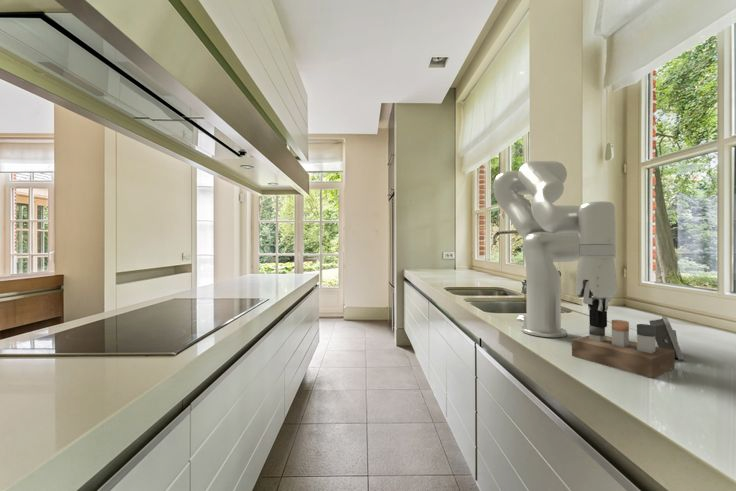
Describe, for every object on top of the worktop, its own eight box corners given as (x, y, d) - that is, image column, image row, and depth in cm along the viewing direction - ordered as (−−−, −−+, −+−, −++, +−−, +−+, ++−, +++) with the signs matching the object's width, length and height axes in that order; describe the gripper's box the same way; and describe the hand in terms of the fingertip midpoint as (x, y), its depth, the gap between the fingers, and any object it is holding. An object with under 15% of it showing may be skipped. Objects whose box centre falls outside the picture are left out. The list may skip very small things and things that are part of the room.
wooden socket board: (571, 355, 82) (571, 339, 82) (596, 348, 87) (596, 333, 87) (651, 378, 68) (651, 358, 68) (674, 368, 73) (674, 350, 73)
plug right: (634, 351, 74) (633, 325, 74) (641, 348, 75) (640, 323, 75) (651, 355, 71) (651, 328, 71) (658, 352, 73) (658, 326, 73)
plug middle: (609, 345, 78) (608, 320, 78) (616, 343, 80) (615, 319, 80) (624, 348, 75) (624, 323, 75) (631, 346, 77) (631, 321, 77)
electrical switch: (684, 362, 77) (678, 322, 78) (655, 359, 81) (649, 321, 81) (679, 352, 85) (674, 315, 85) (653, 350, 88) (648, 314, 89)
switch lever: (586, 348, 83) (586, 325, 83) (593, 346, 84) (593, 324, 84) (600, 352, 80) (600, 328, 80) (607, 350, 81) (607, 326, 81)
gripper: (596, 252, 89) (598, 320, 88) (563, 252, 82) (565, 327, 81) (629, 252, 82) (631, 326, 82) (597, 252, 75) (598, 333, 75)
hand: (598, 326), depth 82 cm, fingers closed
